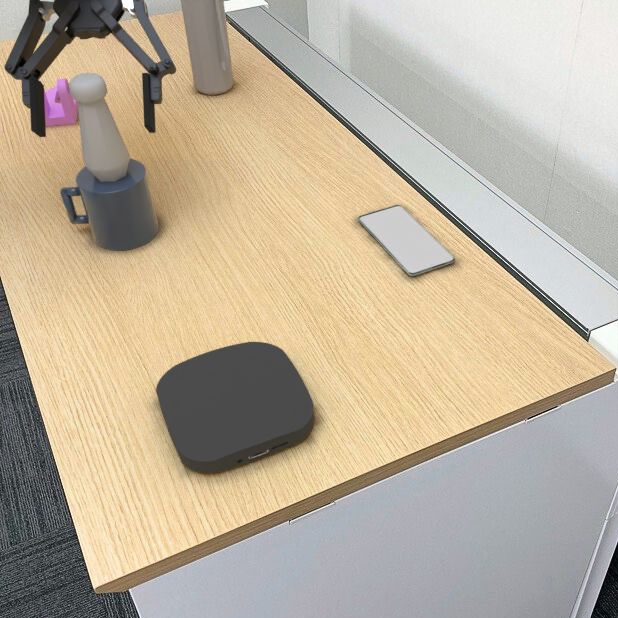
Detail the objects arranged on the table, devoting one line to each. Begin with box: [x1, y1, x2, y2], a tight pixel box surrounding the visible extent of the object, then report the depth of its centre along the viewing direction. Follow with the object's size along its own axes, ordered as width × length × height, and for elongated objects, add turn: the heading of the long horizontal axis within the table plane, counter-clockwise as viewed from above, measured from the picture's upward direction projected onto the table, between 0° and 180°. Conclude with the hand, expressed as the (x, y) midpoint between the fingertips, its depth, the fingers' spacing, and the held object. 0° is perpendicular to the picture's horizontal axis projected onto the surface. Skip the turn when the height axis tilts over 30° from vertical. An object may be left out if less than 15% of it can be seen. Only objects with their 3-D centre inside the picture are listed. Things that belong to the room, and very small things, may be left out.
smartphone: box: [358, 204, 456, 277], centre depth 100 cm, size 7×1×15 cm
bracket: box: [39, 78, 79, 127], centre depth 128 cm, size 13×6×7 cm, turn 11°
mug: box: [59, 158, 160, 251], centre depth 100 cm, size 12×9×9 cm
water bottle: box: [180, 0, 235, 96], centre depth 126 cm, size 9×8×25 cm
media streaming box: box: [155, 341, 315, 474], centre depth 77 cm, size 15×15×3 cm
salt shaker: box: [68, 72, 131, 182], centre depth 92 cm, size 6×6×13 cm
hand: (94, 131), depth 91 cm, fingers open, 13 cm apart
